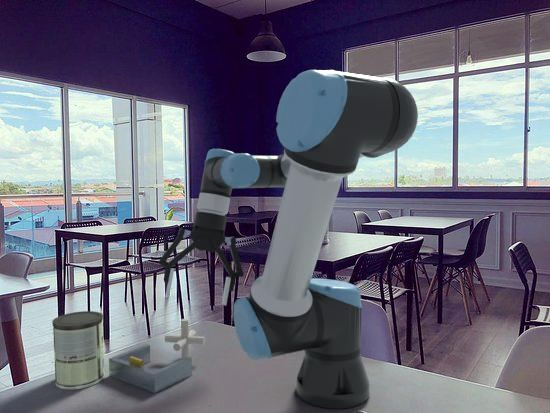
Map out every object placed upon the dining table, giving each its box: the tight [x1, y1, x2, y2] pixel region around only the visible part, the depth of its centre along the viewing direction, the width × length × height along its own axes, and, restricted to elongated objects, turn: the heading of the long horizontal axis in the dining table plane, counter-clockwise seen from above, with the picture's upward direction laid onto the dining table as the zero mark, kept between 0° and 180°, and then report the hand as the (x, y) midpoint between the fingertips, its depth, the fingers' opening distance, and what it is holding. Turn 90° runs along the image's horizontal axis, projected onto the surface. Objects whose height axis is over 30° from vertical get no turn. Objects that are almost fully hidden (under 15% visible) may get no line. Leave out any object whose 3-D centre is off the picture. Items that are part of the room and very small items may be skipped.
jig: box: [108, 344, 193, 394], centre depth 103 cm, size 15×11×5 cm
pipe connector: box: [164, 318, 207, 359], centre depth 111 cm, size 10×10×10 cm
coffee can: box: [51, 310, 106, 391], centre depth 101 cm, size 10×10×14 cm
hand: (195, 300), depth 108 cm, fingers open, 13 cm apart
